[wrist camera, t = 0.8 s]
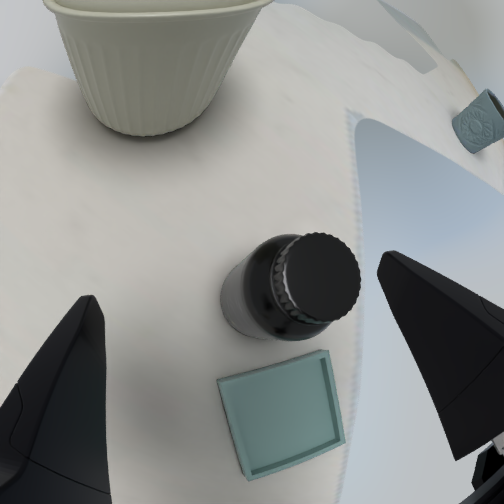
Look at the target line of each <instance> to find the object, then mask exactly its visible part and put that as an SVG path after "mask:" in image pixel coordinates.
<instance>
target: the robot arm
mask: <svg viewBox="0 0 504 504" xmlns="http://www.w3.org/2000/svg"><path fill="white" fill-rule="evenodd" d="M377 277H378V280H379V282H380V284H381V287H382V289H383V292H384V294H385V296H386V299H387V301H388V304H389V306H390V309H391V311H392V314H393V316H394V318H395V320H396V322H397V324H398V326H399V328H400V330H401V332H402V334H403V336H404V337H405V340H406V342H407V344H408V346H409V348H410V350H411V353H412V355H413V357H414V359H415V361H416V363H417V366H418V368H419V370H420V372H421V374H422V377H423V379H424V381H425V383H426V386H427V388H428V391H429V393H430V395H431V397H432V400H433V403H434V405H435V408H436V410H437V412H438V415H439V418H440V421H441V423H442V426H443V428H444V431H445V434H446V437H447V439H448V442H449V445H450V448H451V451H452V454H453V457H454V459H455V461H457V460H459V459H461V458H462V457H464V456H466V455H468V454H470V453H471V452H473V451H475V450H476V449H478V448H480V447H481V446H483V445H485V444H486V443H488V442H489V441H492V444H491V445H489V446H488V447H487V448H486V449H485V450H484V451H483V452H481V453H480V454H479V455H478V458H477V462H476V467H475V471H474V475H473V479H472V482H471V483H472V485H473V487H474V490H475V491H474V492H473V493H472V494H471V495H470V496H468V497H467V498H466V499H465V500H464V501H462V502H461V503H459V504H504V309H502V308H500V307H499V306H497V305H495V304H493V303H492V302H490V301H488V300H486V299H485V298H483V297H481V296H479V295H478V294H475V293H474V292H472V291H471V290H469V289H467V288H465V287H463V286H462V285H459V284H458V283H456V282H454V281H453V280H451V279H449V278H447V277H445V276H443V275H442V274H440V273H438V272H436V271H434V270H432V269H430V268H428V267H426V266H424V265H422V264H421V263H419V262H417V261H415V260H413V259H411V258H409V257H407V256H405V255H403V254H401V253H399V252H397V251H394V250H393V251H387V252H384V253H383V255H382V258H381V261H380V264H379V267H378V270H377ZM110 494H111V492H110V483H109V473H108V461H107V444H106V348H105V320H104V315H103V313H102V310H101V308H100V306H99V304H98V302H97V300H96V298H95V296H94V295H85V296H81V297H80V298H79V299H78V300H77V301H76V302H75V304H74V305H73V306H72V307H71V309H70V310H69V311H68V312H67V314H66V315H65V316H64V317H63V319H62V320H61V321H60V323H59V324H58V325H57V326H56V328H55V329H54V330H53V332H52V333H51V334H50V336H49V337H48V338H47V340H46V341H45V342H44V344H43V345H42V347H41V348H40V349H39V351H38V352H37V353H36V355H35V356H34V358H33V359H32V361H31V362H30V363H29V365H28V366H27V368H26V369H25V371H24V372H23V374H22V375H21V377H20V378H19V380H18V383H16V384H15V386H14V387H13V389H12V390H11V392H10V393H9V395H8V396H7V398H6V399H5V401H4V403H3V404H2V406H1V407H0V504H112V499H111V495H110Z"/></svg>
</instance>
